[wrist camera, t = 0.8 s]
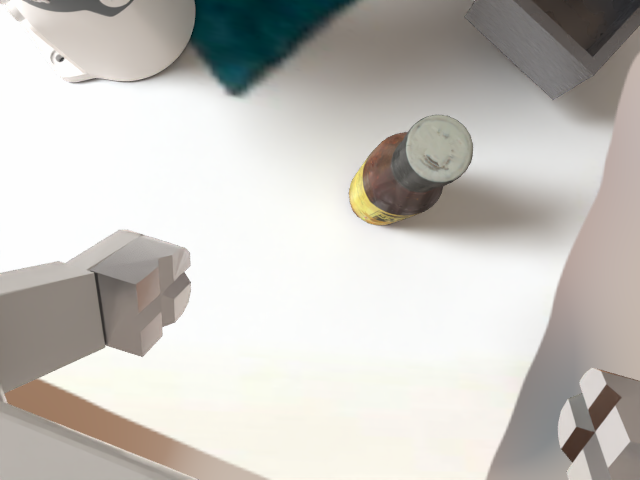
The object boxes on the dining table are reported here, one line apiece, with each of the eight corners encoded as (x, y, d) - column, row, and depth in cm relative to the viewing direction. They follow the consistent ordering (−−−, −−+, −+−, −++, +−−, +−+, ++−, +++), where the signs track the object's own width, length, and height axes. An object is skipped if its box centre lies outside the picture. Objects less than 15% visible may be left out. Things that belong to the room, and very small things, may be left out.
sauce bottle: (364, 236, 44) (406, 228, 24) (337, 182, 44) (356, 129, 24) (420, 208, 44) (508, 176, 24) (393, 154, 44) (459, 79, 24)
